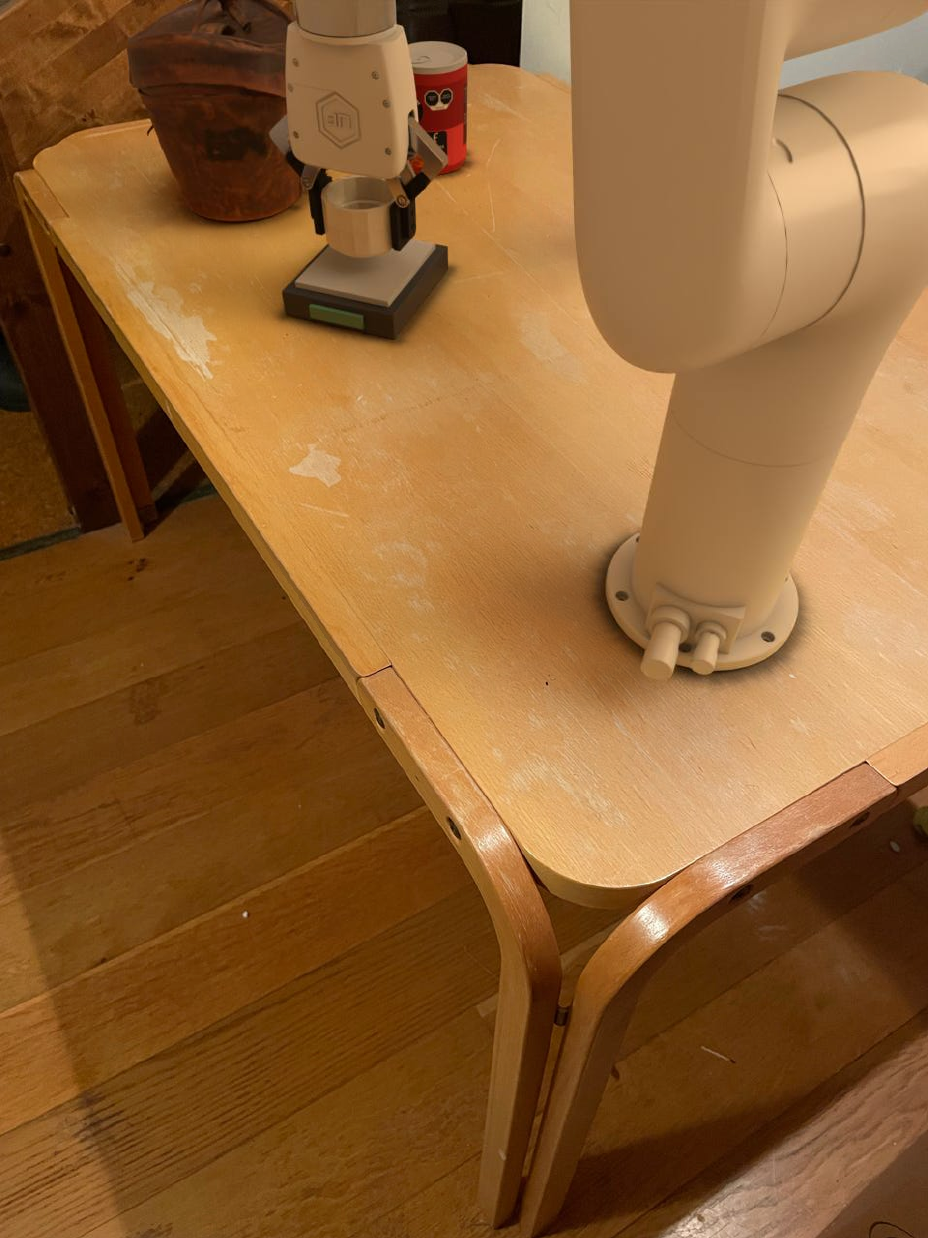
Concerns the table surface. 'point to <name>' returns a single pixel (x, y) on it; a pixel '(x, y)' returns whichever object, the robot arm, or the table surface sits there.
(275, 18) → the brown flower pot
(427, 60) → the canned food
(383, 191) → the small cup
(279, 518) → the table surface
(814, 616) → the table surface
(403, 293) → the scale
